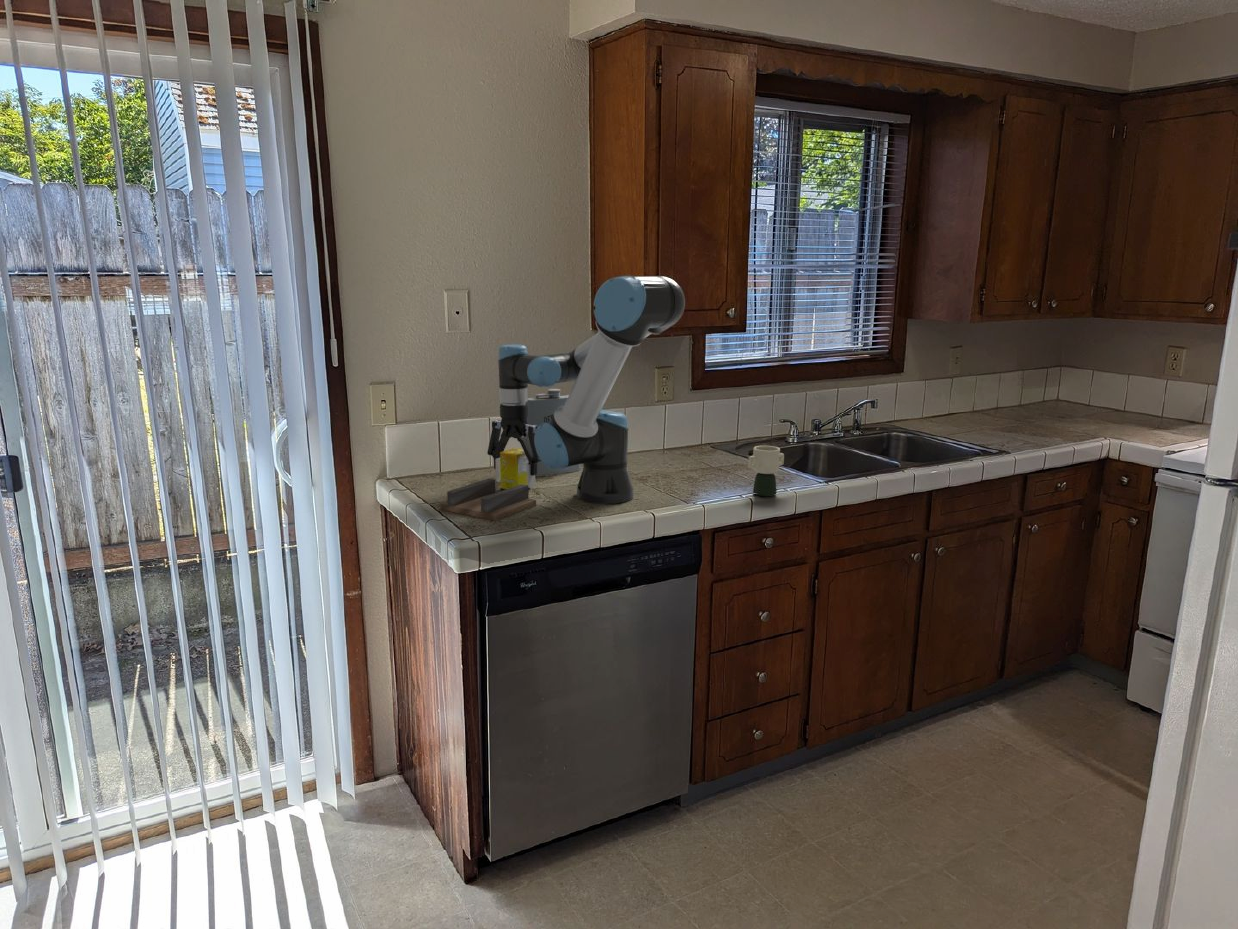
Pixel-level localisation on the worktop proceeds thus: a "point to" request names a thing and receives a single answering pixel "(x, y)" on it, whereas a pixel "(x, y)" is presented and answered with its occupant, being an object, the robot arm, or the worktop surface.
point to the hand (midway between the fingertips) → (515, 483)
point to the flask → (542, 413)
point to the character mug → (765, 468)
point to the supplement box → (513, 468)
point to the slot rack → (487, 500)
